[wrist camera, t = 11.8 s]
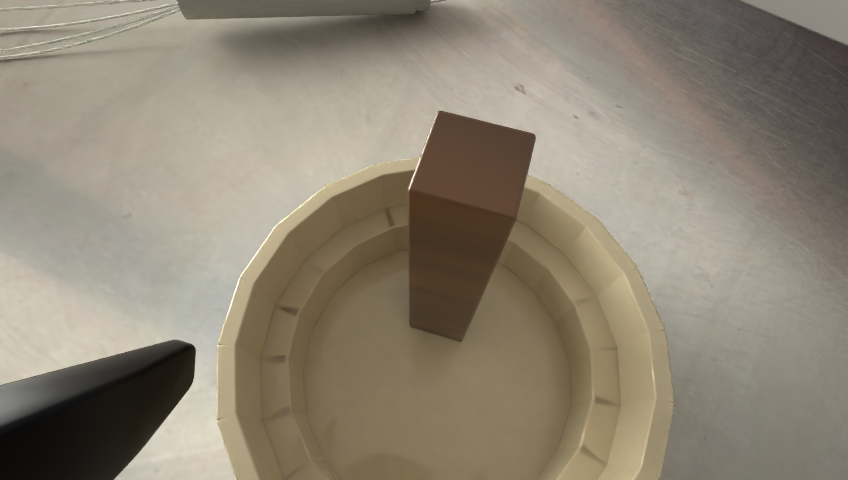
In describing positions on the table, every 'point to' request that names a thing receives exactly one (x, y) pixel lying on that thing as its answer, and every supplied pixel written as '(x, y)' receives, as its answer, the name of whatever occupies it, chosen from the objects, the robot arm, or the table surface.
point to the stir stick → (461, 217)
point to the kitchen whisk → (231, 13)
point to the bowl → (441, 352)
